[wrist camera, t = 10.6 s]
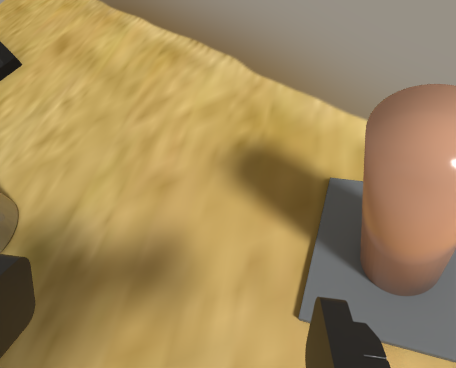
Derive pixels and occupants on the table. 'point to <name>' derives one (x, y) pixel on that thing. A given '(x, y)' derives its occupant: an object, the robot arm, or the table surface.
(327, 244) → the rubber mat
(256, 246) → the table surface
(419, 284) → the terracotta canister
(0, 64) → the vhs tape
